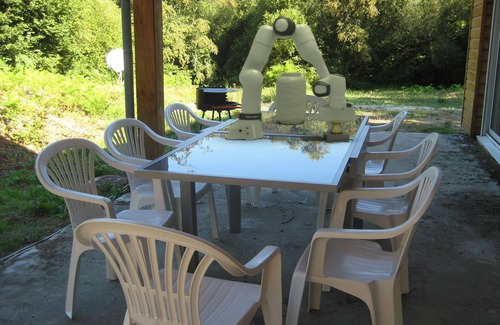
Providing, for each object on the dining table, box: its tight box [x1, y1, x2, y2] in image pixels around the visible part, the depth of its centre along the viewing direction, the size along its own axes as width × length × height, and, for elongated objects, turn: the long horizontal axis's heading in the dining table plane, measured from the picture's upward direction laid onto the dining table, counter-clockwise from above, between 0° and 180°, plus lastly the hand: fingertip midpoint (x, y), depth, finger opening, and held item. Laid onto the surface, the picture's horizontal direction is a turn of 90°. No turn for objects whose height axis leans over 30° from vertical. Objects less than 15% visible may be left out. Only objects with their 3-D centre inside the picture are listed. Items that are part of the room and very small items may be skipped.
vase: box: [275, 71, 307, 125], centre depth 334 cm, size 20×20×34 cm
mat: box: [300, 135, 325, 142], centre depth 279 cm, size 12×12×1 cm
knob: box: [331, 121, 342, 134], centre depth 273 cm, size 6×6×11 cm
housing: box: [322, 130, 350, 143], centre depth 273 cm, size 12×12×4 cm
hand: (336, 129), depth 273 cm, fingers open, 6 cm apart
